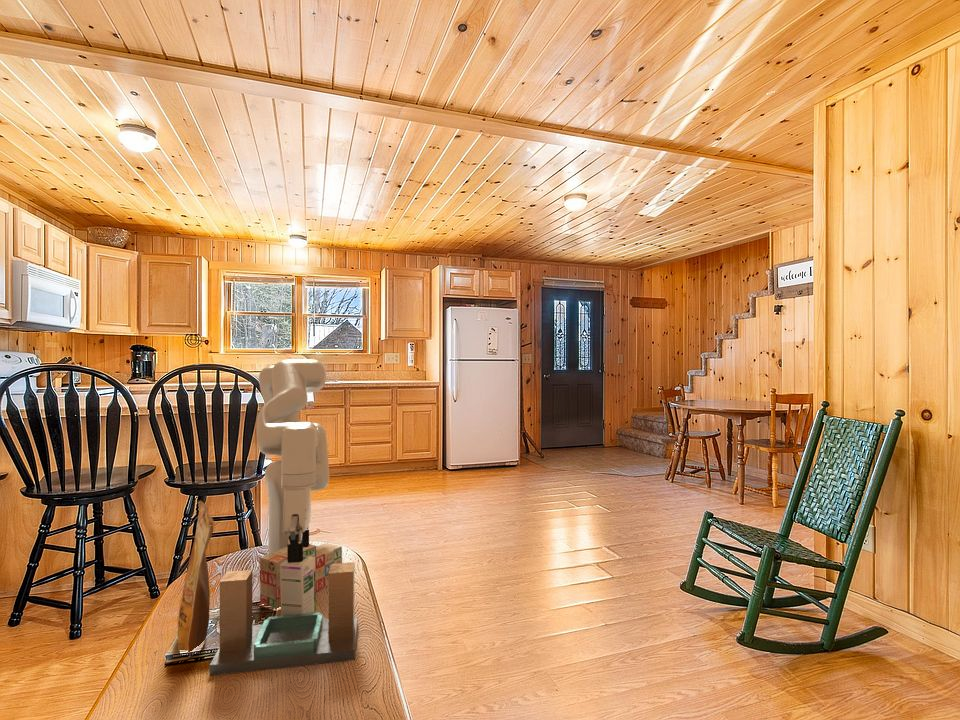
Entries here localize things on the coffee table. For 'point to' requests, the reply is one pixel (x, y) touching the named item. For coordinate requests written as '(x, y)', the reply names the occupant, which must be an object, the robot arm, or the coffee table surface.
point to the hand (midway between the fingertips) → (298, 554)
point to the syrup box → (298, 586)
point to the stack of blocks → (272, 561)
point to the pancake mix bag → (196, 588)
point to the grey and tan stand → (284, 628)
